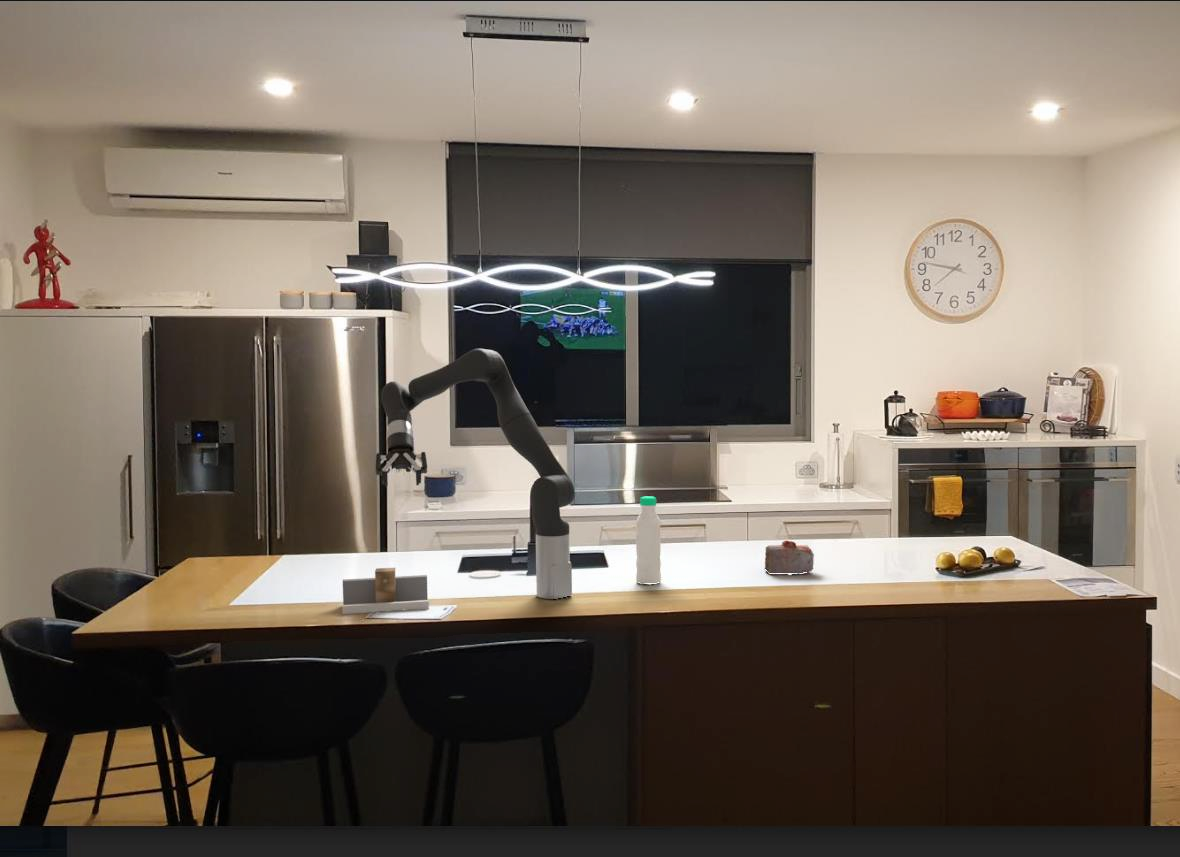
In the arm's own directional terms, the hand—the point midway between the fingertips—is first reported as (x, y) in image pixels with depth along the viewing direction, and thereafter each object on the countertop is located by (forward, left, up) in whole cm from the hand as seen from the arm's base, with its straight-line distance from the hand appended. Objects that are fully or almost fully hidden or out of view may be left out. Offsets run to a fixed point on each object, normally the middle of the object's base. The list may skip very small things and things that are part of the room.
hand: (402, 484), depth 274 cm
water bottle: (-34, -61, -31) cm, 76 cm away
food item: (-51, -101, -31) cm, 117 cm away
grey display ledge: (-11, +11, -31) cm, 34 cm away
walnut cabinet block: (-11, +11, -31) cm, 34 cm away
